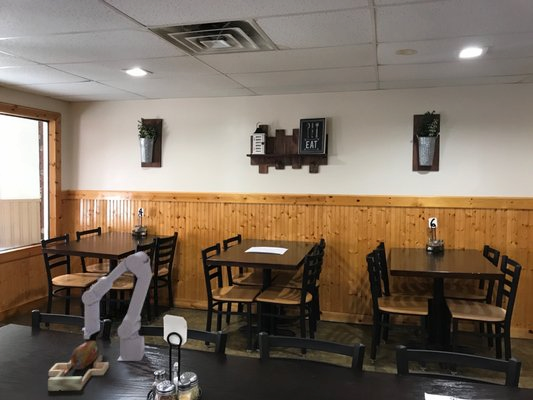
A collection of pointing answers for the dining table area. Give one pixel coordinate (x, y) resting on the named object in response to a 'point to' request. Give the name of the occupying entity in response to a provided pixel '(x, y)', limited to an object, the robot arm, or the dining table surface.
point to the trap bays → (55, 370)
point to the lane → (69, 379)
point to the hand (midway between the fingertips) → (92, 349)
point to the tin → (84, 354)
